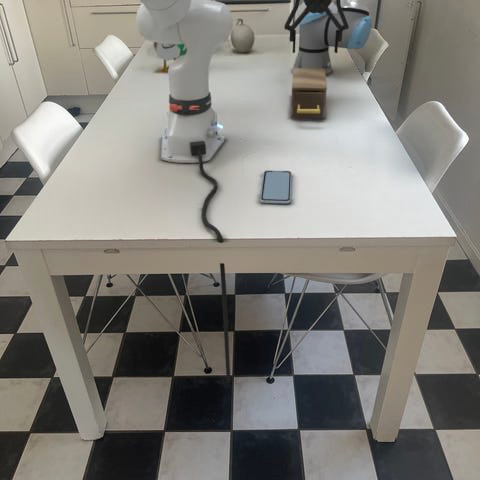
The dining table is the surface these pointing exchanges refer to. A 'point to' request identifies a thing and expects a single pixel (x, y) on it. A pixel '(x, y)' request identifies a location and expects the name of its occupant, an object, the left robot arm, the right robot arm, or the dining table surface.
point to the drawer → (308, 104)
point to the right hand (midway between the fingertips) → (314, 51)
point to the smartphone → (276, 187)
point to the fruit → (242, 37)
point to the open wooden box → (309, 83)
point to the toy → (168, 52)
